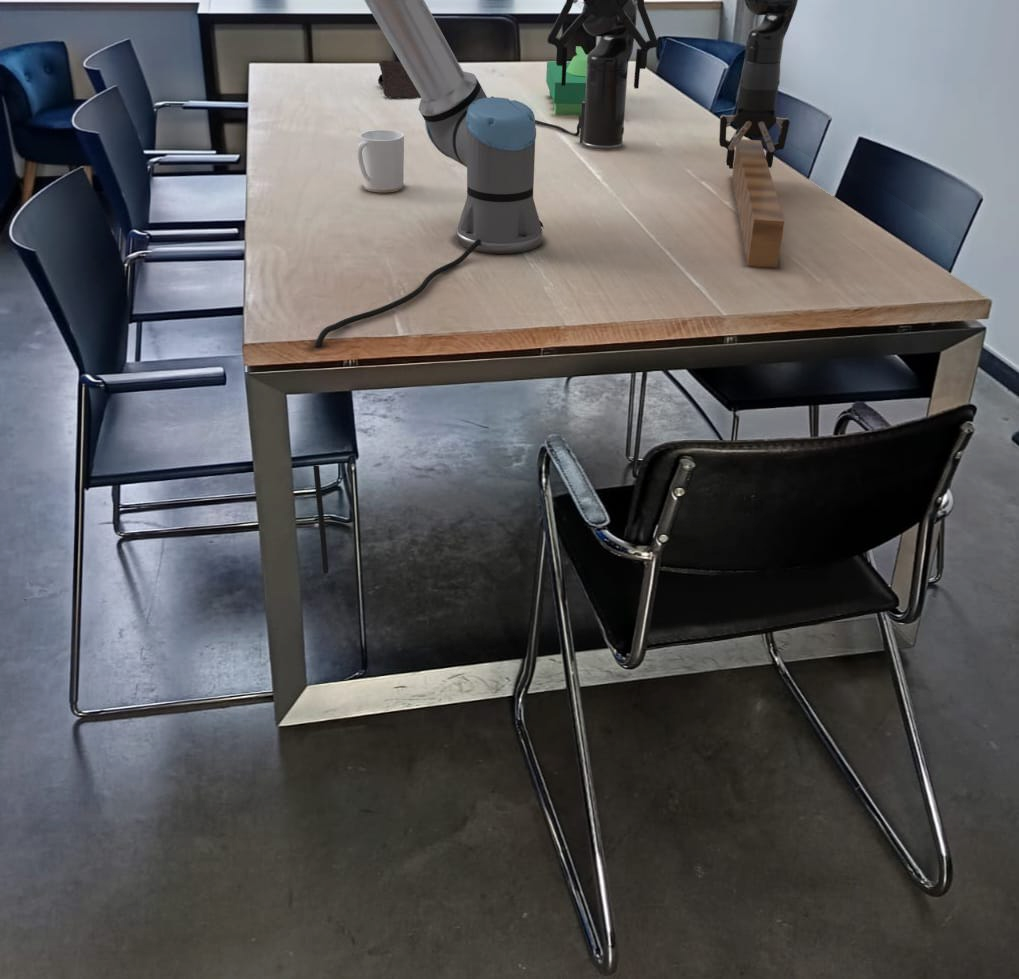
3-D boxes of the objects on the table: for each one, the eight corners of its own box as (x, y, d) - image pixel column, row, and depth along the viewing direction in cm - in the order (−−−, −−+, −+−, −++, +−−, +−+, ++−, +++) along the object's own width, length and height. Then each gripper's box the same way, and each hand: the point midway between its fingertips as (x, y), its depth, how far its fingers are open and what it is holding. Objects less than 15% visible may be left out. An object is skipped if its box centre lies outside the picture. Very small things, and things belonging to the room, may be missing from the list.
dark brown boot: (443, 87, 294) (392, 77, 287) (436, 115, 299) (385, 106, 292) (421, 62, 307) (371, 52, 300) (414, 89, 311) (365, 80, 304)
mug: (383, 178, 227) (381, 127, 222) (414, 186, 223) (413, 135, 217) (344, 189, 220) (341, 137, 215) (376, 198, 215) (373, 145, 210)
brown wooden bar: (777, 267, 187) (784, 221, 182) (747, 266, 187) (754, 219, 183) (755, 179, 233) (761, 140, 229) (731, 178, 233) (736, 139, 229)
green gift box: (609, 43, 301) (626, 67, 271) (606, 89, 307) (622, 119, 277) (545, 41, 300) (555, 66, 270) (543, 88, 306) (553, 117, 276)
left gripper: (676, -40, 197) (665, 84, 208) (538, -44, 198) (534, 79, 209) (679, -35, 190) (667, 92, 201) (536, -40, 191) (532, 87, 202)
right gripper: (794, 82, 219) (781, 165, 228) (721, 79, 221) (712, 162, 230) (798, 90, 213) (785, 175, 222) (723, 86, 215) (713, 171, 223)
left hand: (599, 85), depth 205 cm, fingers open, 13 cm apart
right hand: (748, 168), depth 226 cm, fingers open, 6 cm apart
